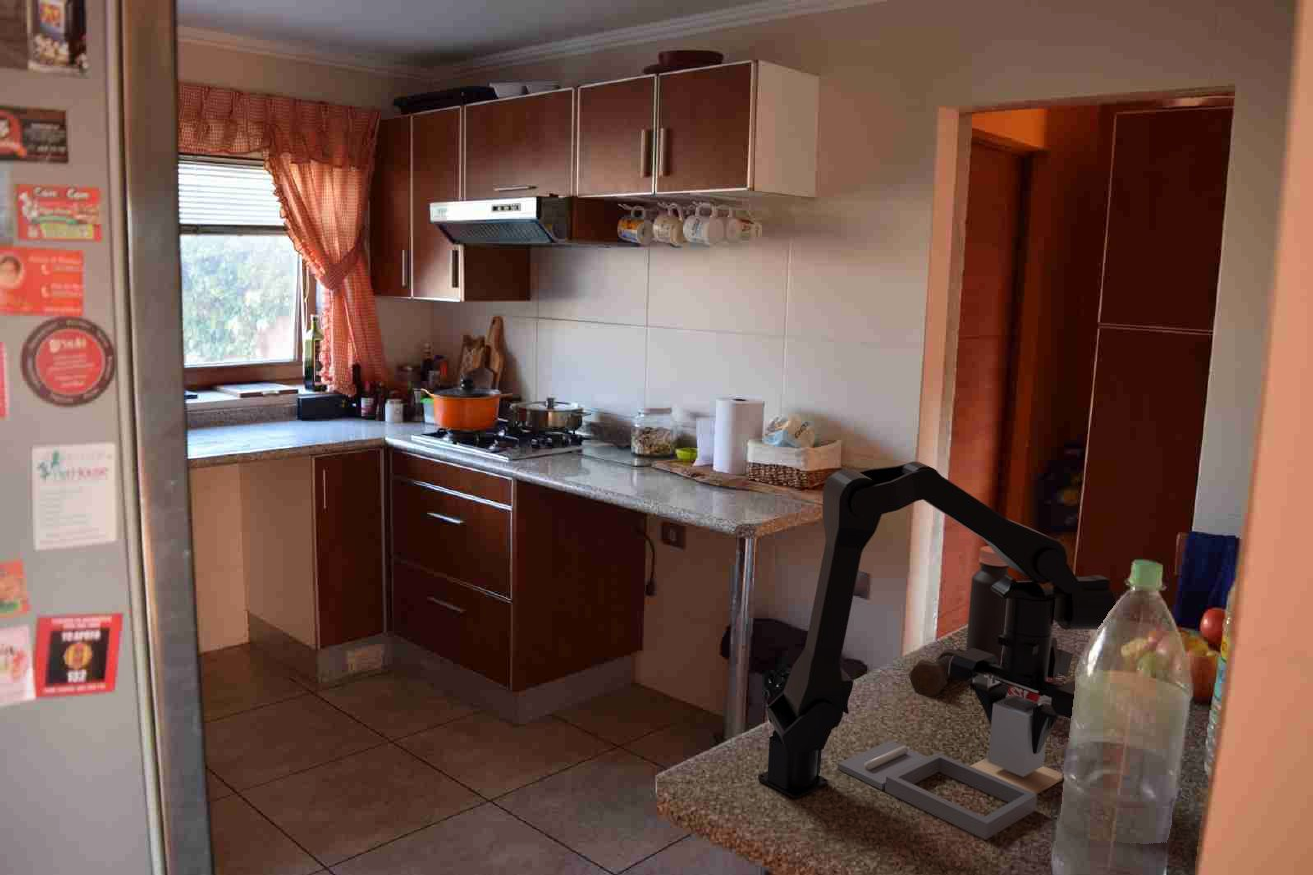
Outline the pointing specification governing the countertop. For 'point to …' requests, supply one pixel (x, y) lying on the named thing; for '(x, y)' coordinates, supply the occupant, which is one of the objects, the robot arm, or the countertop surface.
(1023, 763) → the block
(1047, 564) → the robot arm
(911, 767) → the case
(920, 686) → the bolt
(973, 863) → the countertop surface
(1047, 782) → the pad
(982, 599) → the bottle
